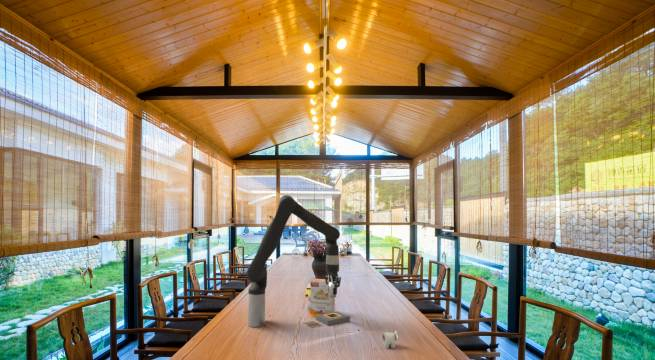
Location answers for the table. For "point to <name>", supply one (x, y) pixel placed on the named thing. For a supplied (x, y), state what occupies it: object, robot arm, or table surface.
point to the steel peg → (331, 290)
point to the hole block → (332, 318)
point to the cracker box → (321, 297)
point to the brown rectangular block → (313, 324)
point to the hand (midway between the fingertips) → (332, 293)
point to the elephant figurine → (389, 339)
